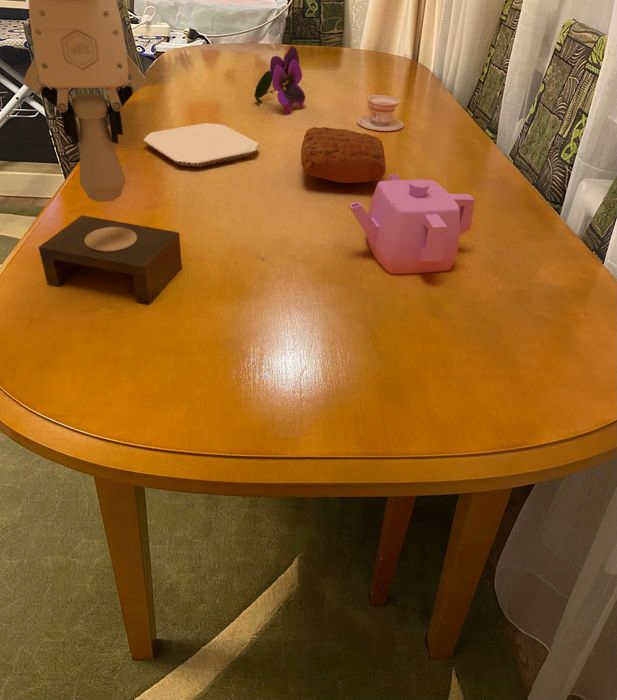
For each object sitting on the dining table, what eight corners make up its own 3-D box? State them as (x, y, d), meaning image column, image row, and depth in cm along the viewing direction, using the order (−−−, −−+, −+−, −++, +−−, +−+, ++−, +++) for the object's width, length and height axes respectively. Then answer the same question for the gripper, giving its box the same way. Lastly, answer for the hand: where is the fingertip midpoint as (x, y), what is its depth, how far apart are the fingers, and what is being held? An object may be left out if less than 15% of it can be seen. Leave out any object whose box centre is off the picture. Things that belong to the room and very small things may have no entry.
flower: (250, 129, 162) (288, 114, 154) (227, 72, 157) (266, 53, 148) (279, 117, 172) (317, 102, 164) (259, 62, 167) (297, 44, 159)
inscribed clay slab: (382, 200, 118) (388, 160, 113) (295, 193, 118) (297, 152, 113) (381, 160, 135) (386, 123, 130) (305, 153, 136) (307, 117, 131)
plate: (184, 175, 122) (183, 164, 121) (137, 144, 134) (136, 134, 133) (267, 156, 133) (267, 146, 131) (217, 130, 145) (216, 120, 144)
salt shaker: (135, 192, 84) (122, 93, 76) (111, 207, 80) (95, 105, 72) (99, 184, 85) (82, 87, 77) (73, 199, 81) (53, 98, 73)
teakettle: (434, 290, 92) (451, 215, 84) (337, 257, 98) (344, 184, 91) (472, 248, 104) (490, 179, 96) (384, 221, 110) (393, 154, 103)
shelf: (47, 284, 87) (37, 245, 83) (88, 250, 96) (81, 213, 92) (149, 305, 84) (144, 266, 81) (182, 267, 93) (179, 231, 89)
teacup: (412, 125, 156) (416, 100, 153) (385, 135, 149) (388, 109, 145) (375, 114, 162) (378, 90, 159) (347, 123, 155) (349, 98, 151)
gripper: (-19, -24, 62) (22, 153, 73) (150, -19, 66) (164, 148, 77) (-9, -33, 68) (28, 133, 79) (146, -27, 72) (160, 129, 83)
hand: (95, 139), depth 78 cm, fingers closed on salt shaker, 4 cm apart
